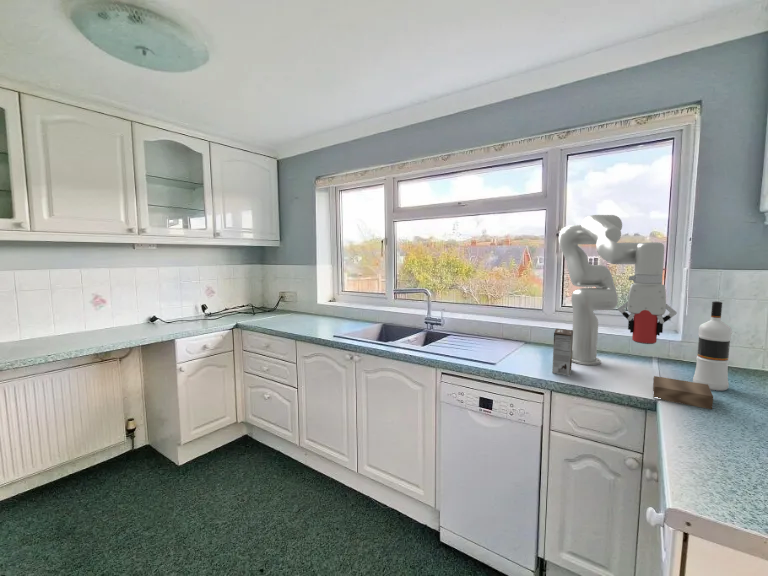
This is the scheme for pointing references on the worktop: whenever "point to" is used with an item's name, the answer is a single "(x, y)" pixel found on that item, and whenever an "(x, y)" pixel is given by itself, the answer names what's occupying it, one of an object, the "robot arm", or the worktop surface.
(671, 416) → the worktop surface
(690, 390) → the walnut base
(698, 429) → the worktop surface
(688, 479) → the worktop surface
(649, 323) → the beer can
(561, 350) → the coffee box
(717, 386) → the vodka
